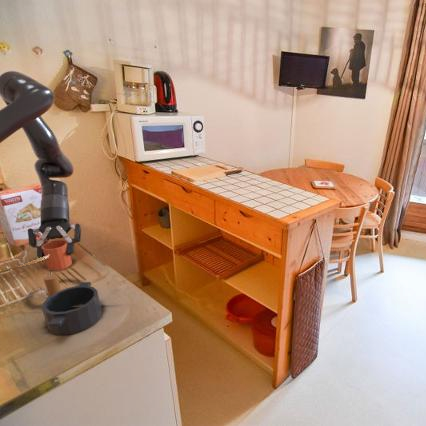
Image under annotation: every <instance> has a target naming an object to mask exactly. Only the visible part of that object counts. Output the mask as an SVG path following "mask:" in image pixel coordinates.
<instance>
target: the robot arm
mask: <svg viewBox="0 0 426 426" xmlns="http://www.w3.org/2000/svg"><path fill="white" fill-rule="evenodd" d="M0 98H1V99H2V101H3V102H4V104H5V105H6V106H4V107H2V108H0V144H1V143H2V142H4V141H5V140H7V139H8V138H9V137H11V136H12V135H14V134H15V133H16V132H18V131H19V130H21V129H22V130H23V133H24V134H25V136H26V138H27V139H28V143H29V144H30V146H31V149H32V151H33V153H34V155H35V157H36V158H37V160H35V162H34V165H33V166H34V171H35V173H36V175H37V177H38V180H39V184H41V225H40V227H39V228H38V229H31V228H30V229H28V238H29V243H28V245H29V246H30V247H32V248H33V249H36V257H38V258H39V259H40V257H43V256H44V255H43V251H42V248H41V247H42V245H44V244H45V243H47V242H50V240H57V239H63V238H64V239H65V241H66V242H67V254H68V255H69V256H72V255H73V254H74V253H75V248H74V247H75V244H76V243H80V242H81V238H82V236H81V235H82V226H81V225H80V224H79V223H75V224H70V221H71V220H70V203H69V192H68V190H69V189H68V185H67V184H66V182H64V181H61V180H57V179H67V178H70V177H71V176H73V174H74V170H75V169H74V165H73V163H72V162H71V161H70V159H69V157H68V156H66V154H65V153H64V152H63V151H62V150H61V147H60V144H59V141H58V139H57V136H56V135H55V133H54V131H53V130H52V129H51V127H50V126H49V125H48V124H47V123H46V121H45V119H44V118H43V117H42V116H43V115H44V114H46V112H48V111H49V110H50V109H51V108H52V106H53V105H54V102H55V94H54V92H53V90H51V88H49V87H47V86H46V85H44V84H43V83H41V82H39V81H38V80H35V79H34V78H32V77H31V76H29V75H26V74H25V73H22V72H19V71H16V70H8V71H5V72H3V73H1V74H0ZM71 230H72V231H74V235H73V238H71V237H70V236H69V234H68V233H69V232H70V231H71ZM39 232H41V233H42V236H41V237H40V239H38V242H37V240H36V236H37V235H38V233H39Z"/></svg>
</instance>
